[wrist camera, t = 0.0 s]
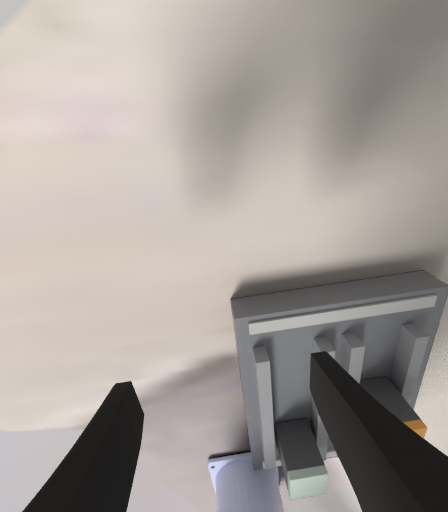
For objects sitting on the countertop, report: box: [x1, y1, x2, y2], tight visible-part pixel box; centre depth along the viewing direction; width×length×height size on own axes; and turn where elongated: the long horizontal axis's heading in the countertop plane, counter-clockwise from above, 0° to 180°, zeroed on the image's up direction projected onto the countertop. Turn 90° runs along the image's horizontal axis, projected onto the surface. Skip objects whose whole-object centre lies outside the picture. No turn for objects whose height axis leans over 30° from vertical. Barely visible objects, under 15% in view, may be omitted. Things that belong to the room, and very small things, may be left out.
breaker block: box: [230, 270, 448, 500], centre depth 22 cm, size 20×16×7 cm
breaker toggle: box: [360, 376, 427, 438], centre depth 21 cm, size 3×3×4 cm
